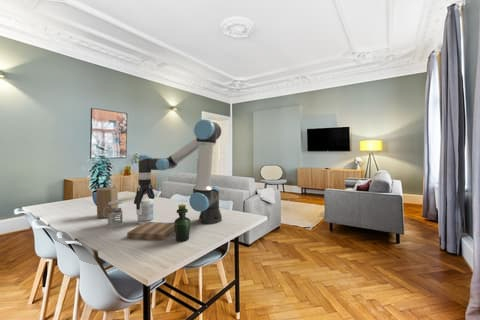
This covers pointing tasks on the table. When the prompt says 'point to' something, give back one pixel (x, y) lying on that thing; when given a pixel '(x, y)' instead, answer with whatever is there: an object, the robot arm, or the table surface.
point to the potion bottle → (182, 224)
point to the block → (106, 200)
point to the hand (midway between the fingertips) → (145, 211)
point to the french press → (116, 212)
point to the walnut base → (151, 231)
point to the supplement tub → (146, 211)
